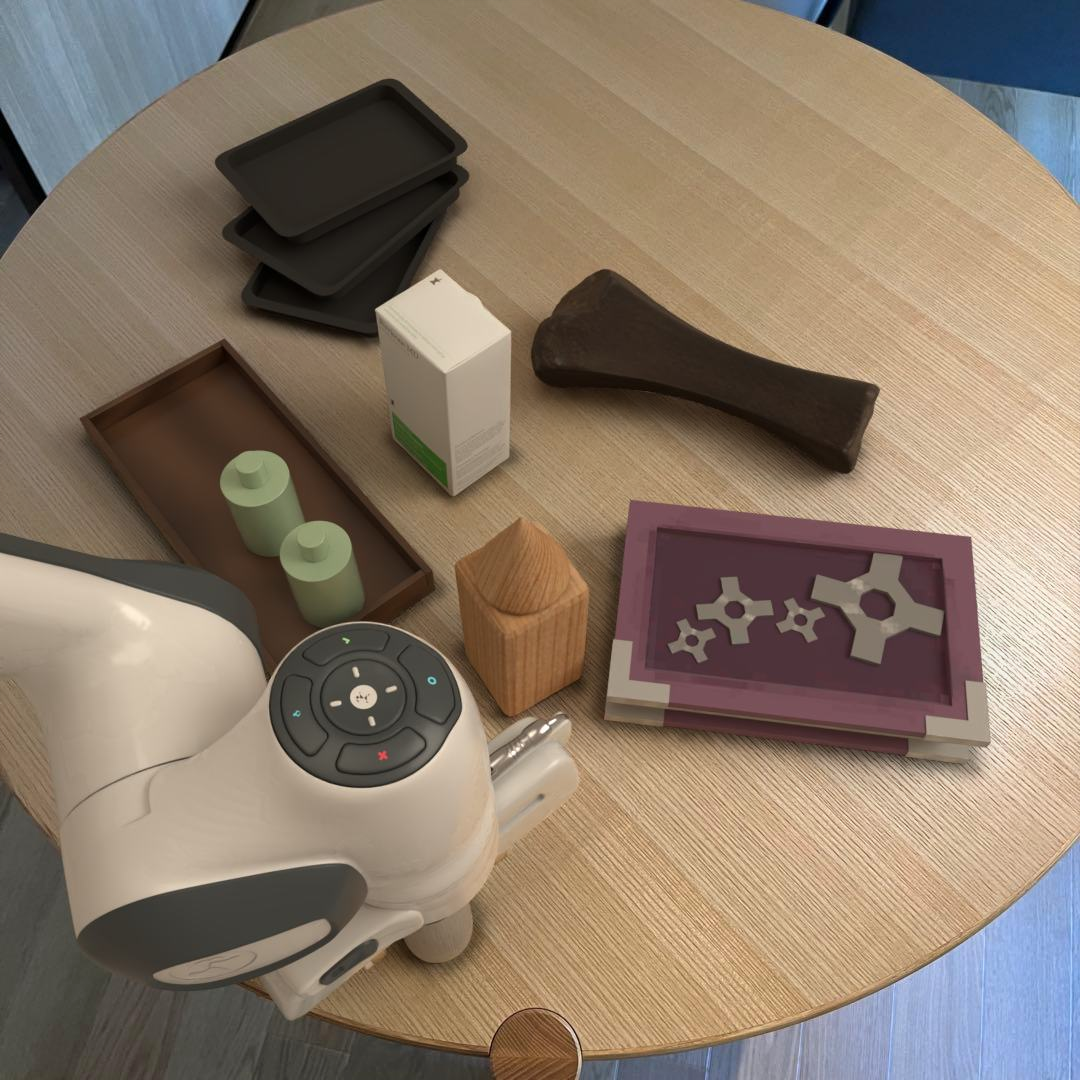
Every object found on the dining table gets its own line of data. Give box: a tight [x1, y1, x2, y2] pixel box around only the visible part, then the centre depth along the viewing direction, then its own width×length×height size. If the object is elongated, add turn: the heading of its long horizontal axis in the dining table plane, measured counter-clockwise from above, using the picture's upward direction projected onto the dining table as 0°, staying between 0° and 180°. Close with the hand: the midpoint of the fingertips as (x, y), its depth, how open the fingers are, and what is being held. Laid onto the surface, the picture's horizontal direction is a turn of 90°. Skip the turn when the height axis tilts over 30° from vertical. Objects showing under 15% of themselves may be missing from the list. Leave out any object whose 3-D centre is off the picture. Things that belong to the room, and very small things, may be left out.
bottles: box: [220, 451, 365, 628], centre depth 82 cm, size 5×13×9 cm, turn 40°
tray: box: [214, 78, 470, 338], centre depth 105 cm, size 30×23×5 cm
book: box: [603, 499, 992, 765], centre depth 81 cm, size 25×16×5 cm, turn 82°
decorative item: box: [454, 516, 590, 718], centre depth 74 cm, size 7×7×20 cm
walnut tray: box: [79, 337, 436, 678], centre depth 88 cm, size 14×30×3 cm, turn 39°
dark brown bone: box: [530, 268, 881, 475], centre depth 93 cm, size 11×10×28 cm
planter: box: [403, 901, 474, 964], centre depth 68 cm, size 4×4×10 cm
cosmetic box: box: [375, 268, 512, 497], centre depth 86 cm, size 8×7×16 cm
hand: (433, 899), depth 67 cm, fingers open, 8 cm apart
